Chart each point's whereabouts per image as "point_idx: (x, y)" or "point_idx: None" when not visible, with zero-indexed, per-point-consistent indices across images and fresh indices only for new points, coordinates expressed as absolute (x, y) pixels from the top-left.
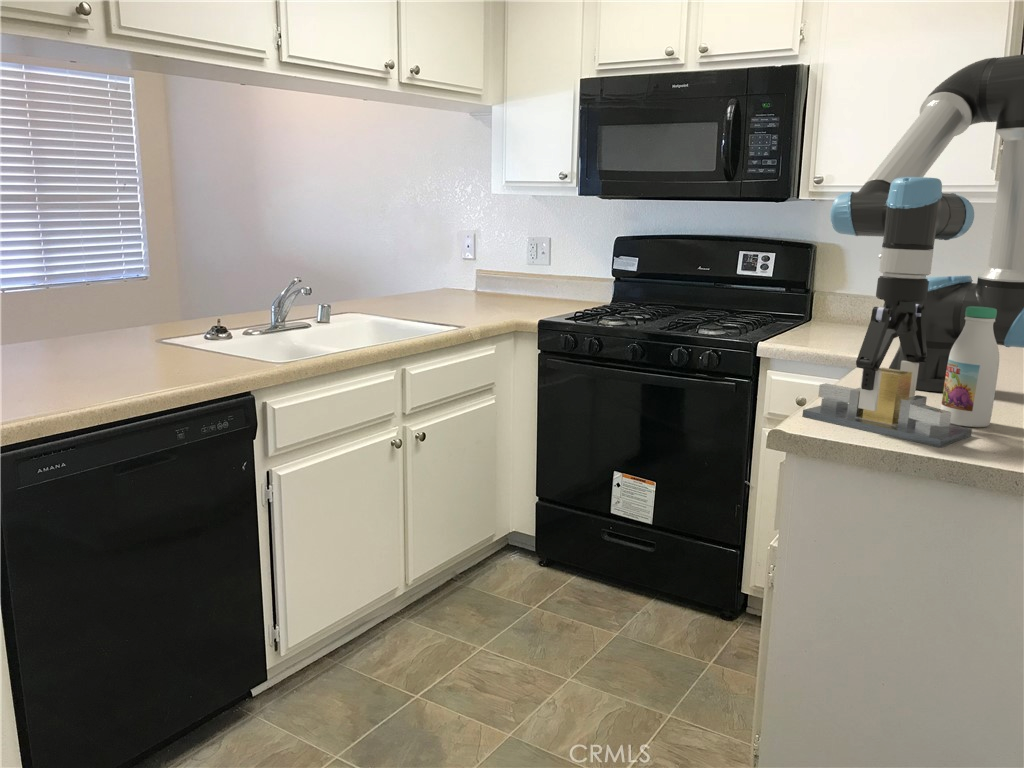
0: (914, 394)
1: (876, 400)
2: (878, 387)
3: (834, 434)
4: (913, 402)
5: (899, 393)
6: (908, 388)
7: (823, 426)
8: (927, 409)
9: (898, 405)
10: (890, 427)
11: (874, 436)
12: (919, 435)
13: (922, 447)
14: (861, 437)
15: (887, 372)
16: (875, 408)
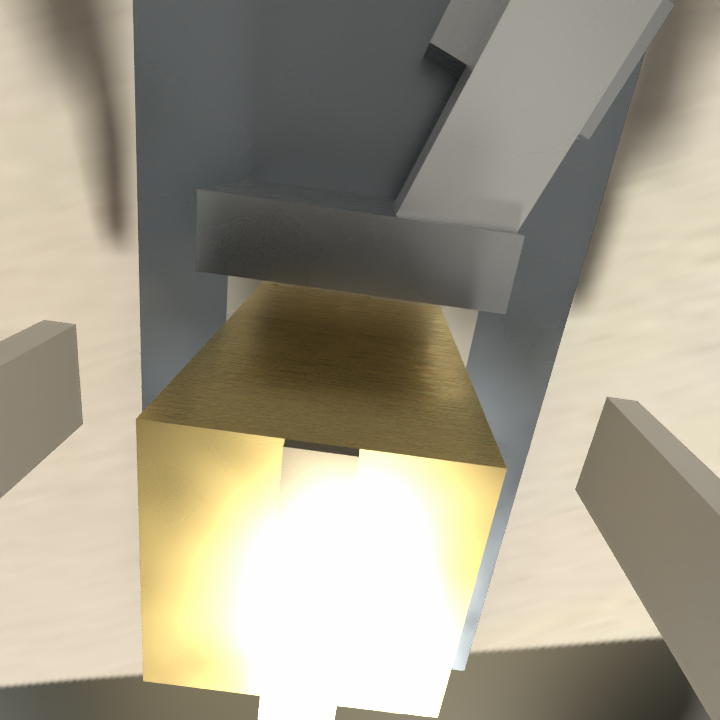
0: (23, 335)
1: (663, 435)
2: (715, 495)
3: (710, 463)
4: (462, 224)
5: (406, 367)
6: (232, 354)
7: (579, 538)
8: (625, 53)
9: (390, 332)
10: (543, 285)
11: (620, 321)
12: (632, 89)
13: (715, 39)
14: (689, 360)
15: (413, 585)
16: (633, 407)
